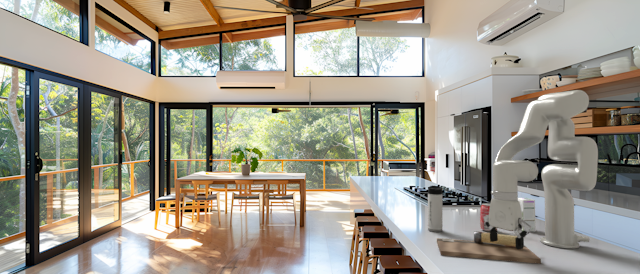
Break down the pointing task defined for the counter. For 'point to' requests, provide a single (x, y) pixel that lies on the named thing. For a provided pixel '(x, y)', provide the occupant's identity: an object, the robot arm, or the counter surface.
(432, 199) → the travel mug
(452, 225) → the counter surface
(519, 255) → the door panel
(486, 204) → the soda can
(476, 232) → the swing bar
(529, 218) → the syrup box
